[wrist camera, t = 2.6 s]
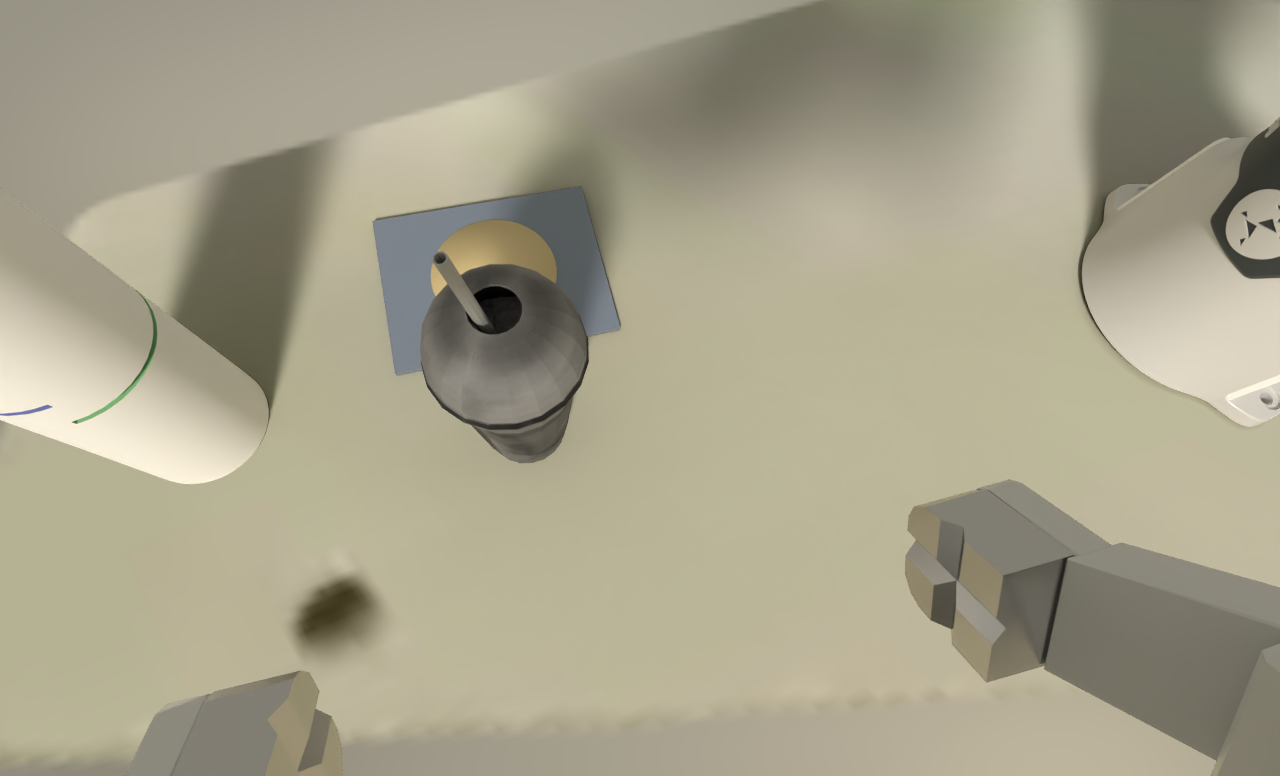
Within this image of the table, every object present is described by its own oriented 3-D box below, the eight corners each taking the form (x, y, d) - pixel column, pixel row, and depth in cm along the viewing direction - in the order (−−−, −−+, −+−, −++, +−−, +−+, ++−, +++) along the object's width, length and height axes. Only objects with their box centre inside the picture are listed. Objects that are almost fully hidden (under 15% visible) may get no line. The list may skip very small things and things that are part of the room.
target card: (581, 189, 46) (581, 185, 45) (620, 329, 42) (620, 326, 42) (374, 224, 43) (371, 219, 43) (396, 375, 40) (394, 372, 39)
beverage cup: (609, 450, 39) (632, 287, 21) (497, 509, 38) (411, 389, 19) (554, 351, 41) (528, 120, 22) (445, 403, 39) (320, 198, 21)
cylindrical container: (138, 378, 39) (-553, -11, 15) (266, 356, 40) (-194, -39, 16) (135, 496, 36) (-683, 253, 13) (271, 469, 37) (-255, 200, 14)
